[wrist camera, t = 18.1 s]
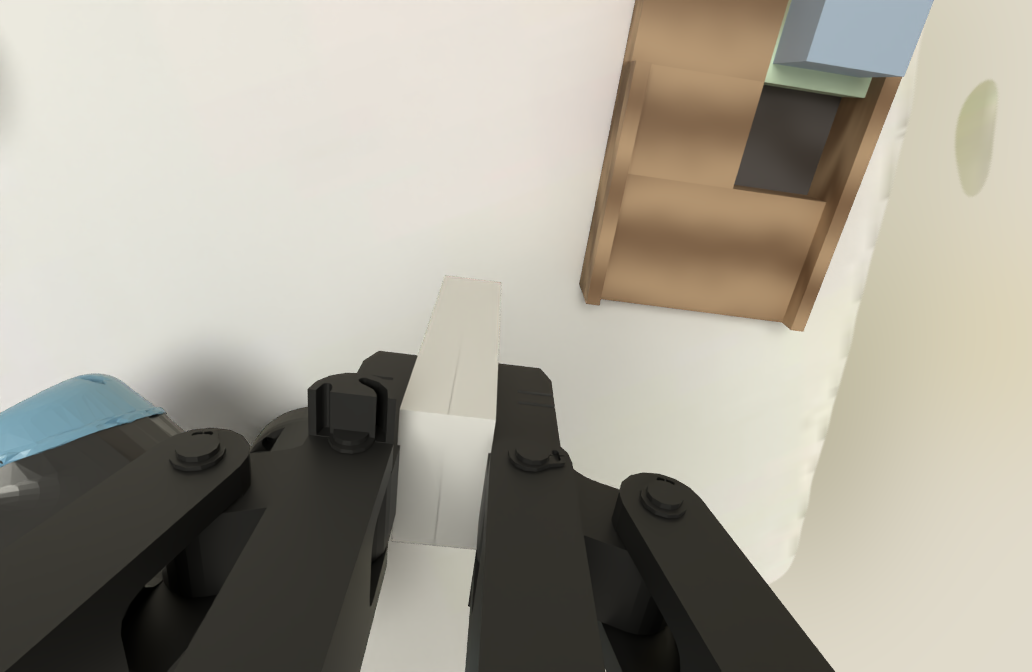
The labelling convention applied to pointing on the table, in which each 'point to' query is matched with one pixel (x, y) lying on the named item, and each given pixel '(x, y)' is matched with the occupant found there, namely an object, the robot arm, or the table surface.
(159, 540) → the robot arm
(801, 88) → the wooden tray
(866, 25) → the block
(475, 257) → the table surface
